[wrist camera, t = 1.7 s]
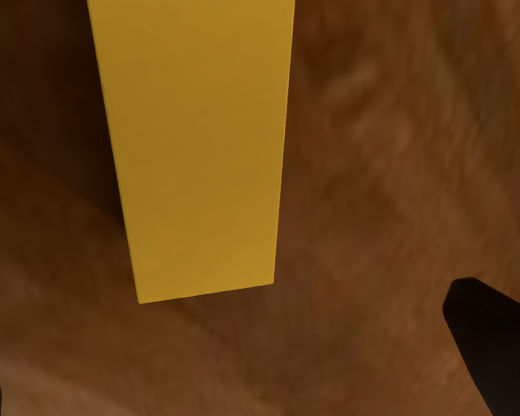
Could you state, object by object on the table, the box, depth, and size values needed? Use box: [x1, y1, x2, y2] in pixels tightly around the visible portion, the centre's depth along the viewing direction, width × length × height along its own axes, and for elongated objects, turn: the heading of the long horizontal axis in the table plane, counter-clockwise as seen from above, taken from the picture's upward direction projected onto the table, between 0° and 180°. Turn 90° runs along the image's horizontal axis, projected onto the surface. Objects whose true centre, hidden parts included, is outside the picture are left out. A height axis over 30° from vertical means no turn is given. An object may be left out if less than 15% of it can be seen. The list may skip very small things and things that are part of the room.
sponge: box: [87, 0, 295, 304], centre depth 15 cm, size 5×11×4 cm, turn 178°
